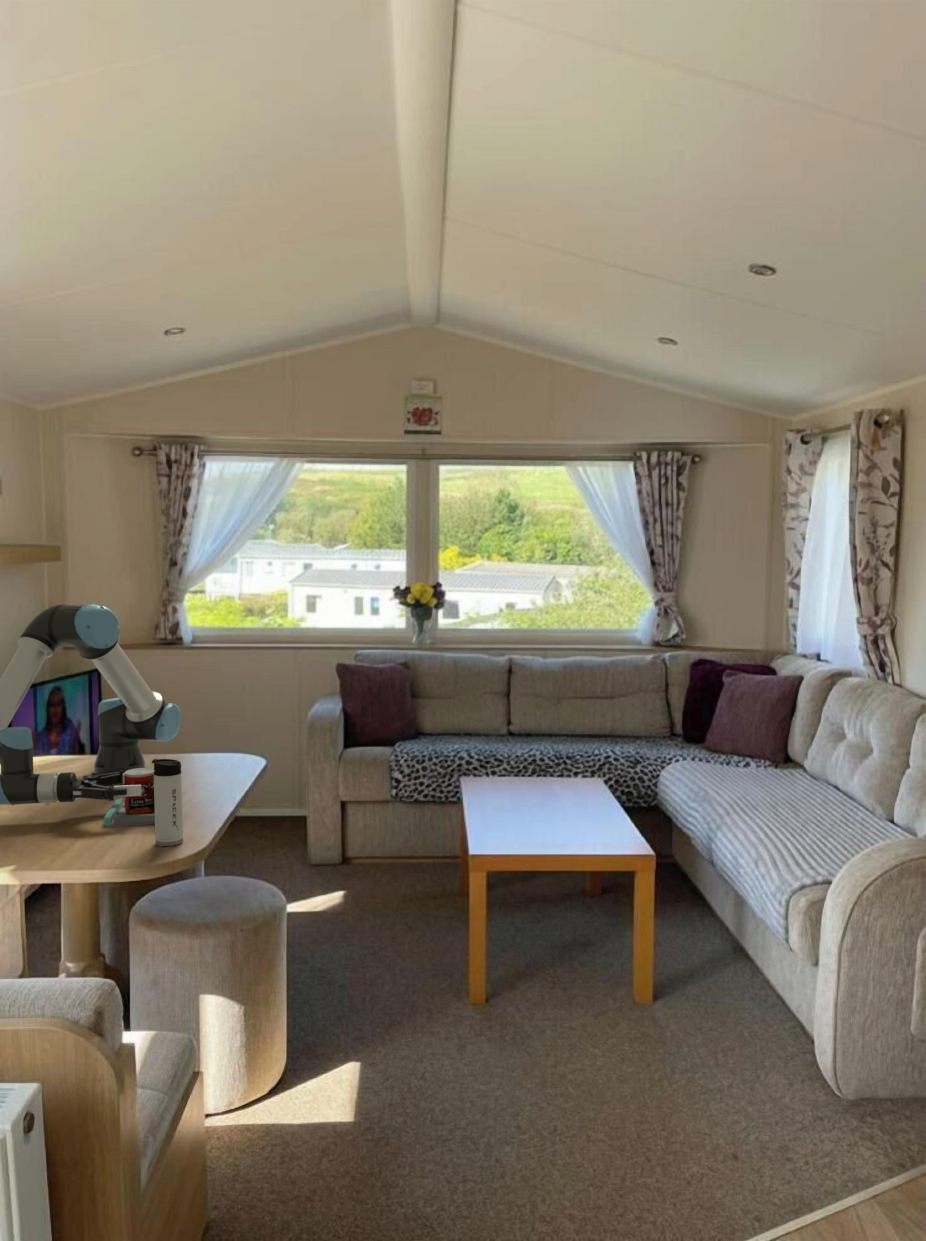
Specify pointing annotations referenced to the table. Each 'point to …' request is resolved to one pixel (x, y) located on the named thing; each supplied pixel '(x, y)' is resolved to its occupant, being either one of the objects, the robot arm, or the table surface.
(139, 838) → the table surface
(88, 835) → the table surface
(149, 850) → the table surface
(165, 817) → the travel mug
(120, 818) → the tray with upright backboard
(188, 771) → the table surface
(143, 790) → the canned food
